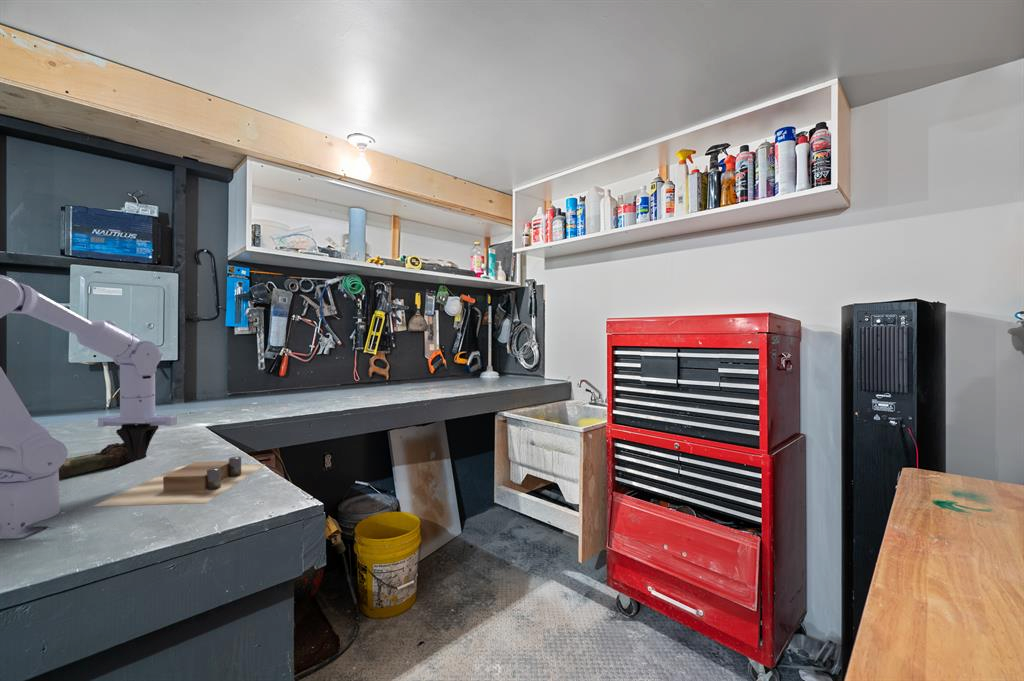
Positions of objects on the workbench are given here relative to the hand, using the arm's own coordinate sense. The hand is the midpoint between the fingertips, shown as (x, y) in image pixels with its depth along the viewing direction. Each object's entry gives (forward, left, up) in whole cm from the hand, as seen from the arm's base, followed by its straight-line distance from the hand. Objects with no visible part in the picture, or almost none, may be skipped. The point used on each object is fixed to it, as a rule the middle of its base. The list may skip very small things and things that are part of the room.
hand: (138, 459), depth 92 cm
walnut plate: (0, -12, -5) cm, 13 cm away
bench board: (0, -11, -7) cm, 13 cm away
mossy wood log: (+16, +21, -7) cm, 28 cm away
